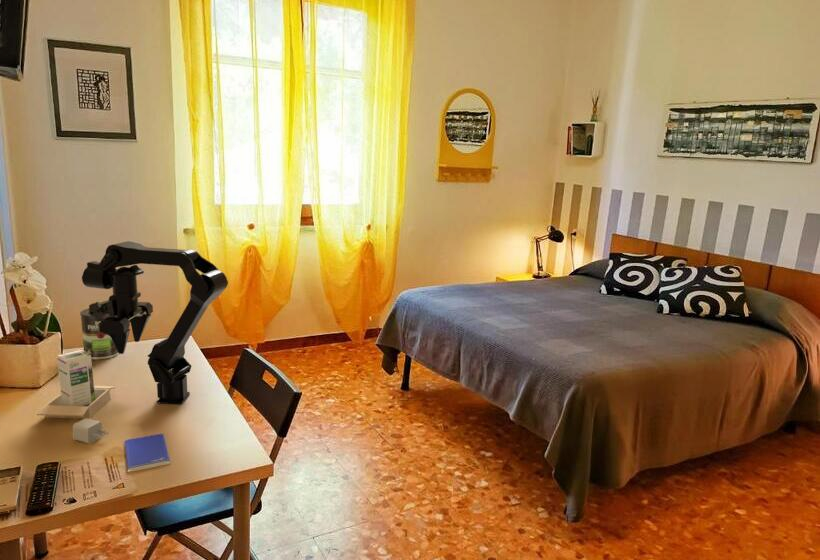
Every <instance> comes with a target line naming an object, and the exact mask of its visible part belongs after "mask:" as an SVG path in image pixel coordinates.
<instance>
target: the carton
mask: <svg viewBox="0 0 820 560" xmlns="http://www.w3.org/2000/svg"><path fill="white" fill-rule="evenodd" d="M114 389H116V386H113V385H110V386H109V385H108V386H107V385H94V393H95V401H93V402H92V403H91V404H90V405H89V406H62V398H61V392H60V393H59V394H58V395H56V396H55V397H54V398H52V399H51V400H50V401H48V402H47V403H46V404H45V405H42V406H41V408H40V409H39V410H38V411H37V413H36V416H44V418H48V417H52V419H53V417H55V419H60V418H61V419H80V420H83V419H85V418H87V419H91V418H92V417H93V416H94V415H95V414H97V413H98V412H99V411H100V410H101V409H102V408H103V407H104V406H106V405H107V403H109V402H110V401H111V390H114ZM57 417H58V418H57Z"/></svg>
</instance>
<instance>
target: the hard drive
mask: <svg viewBox="0 0 820 560" xmlns="http://www.w3.org/2000/svg"><path fill="white" fill-rule="evenodd" d="M124 449H125V451H126V452H125V458H126V459H125V460H127V461H126V467H127V469H128V470H131V471H132V472H136V471H142V470H146V469H151V468H154V467H160V466H164V465H169V464H171V460H170V459H171V458H170V456H169V451H168V447H167V443H166V438H165V434H164V433H157V434H151V435H145V436H141V437H136V438H135V437H134V438H129V439H126V440H124ZM128 470H127V471H128Z"/></svg>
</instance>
